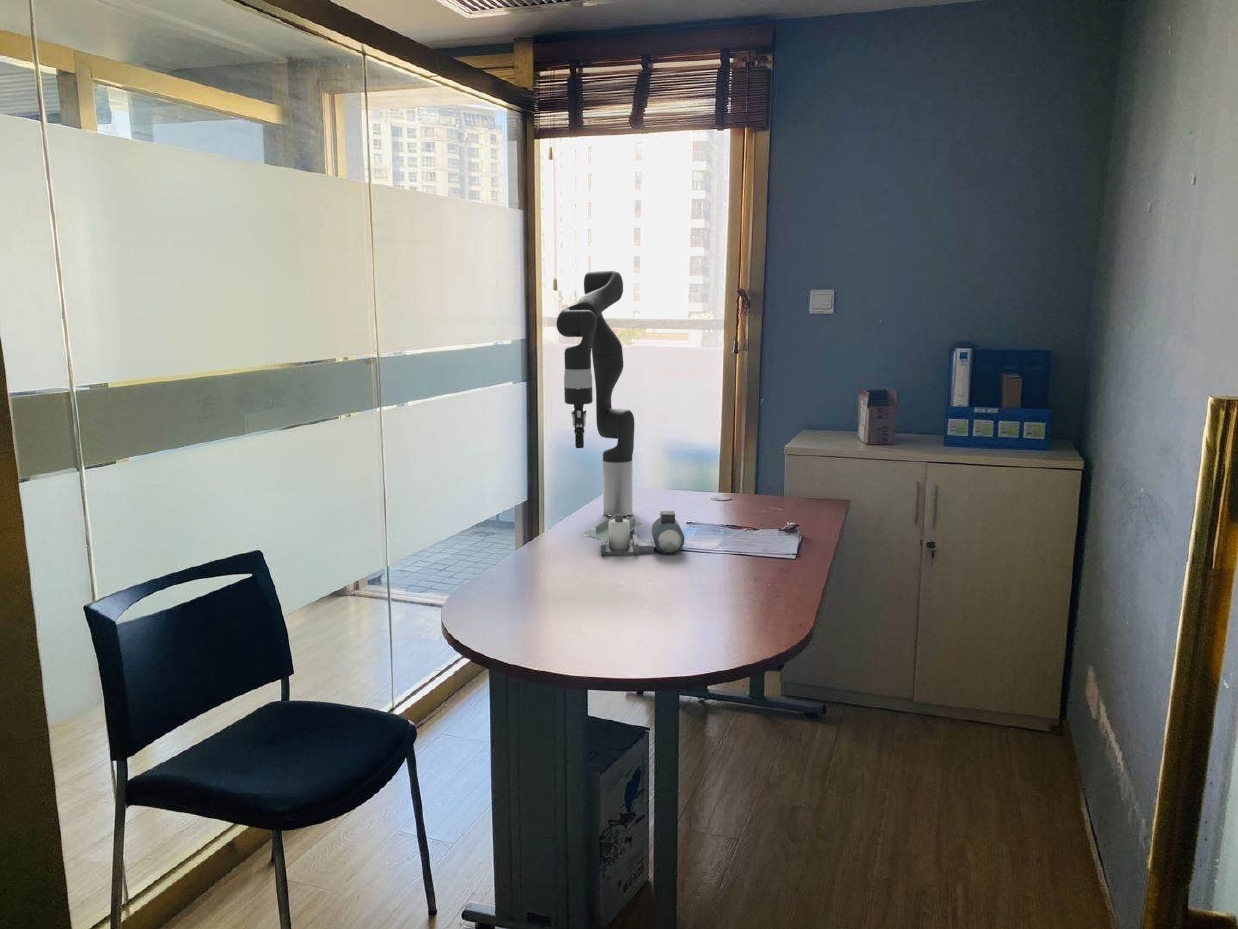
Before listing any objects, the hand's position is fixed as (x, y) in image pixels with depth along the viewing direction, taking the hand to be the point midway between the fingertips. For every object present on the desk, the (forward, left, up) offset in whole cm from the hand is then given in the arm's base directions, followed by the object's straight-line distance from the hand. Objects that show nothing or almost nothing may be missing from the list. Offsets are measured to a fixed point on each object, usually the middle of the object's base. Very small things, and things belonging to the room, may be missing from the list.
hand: (579, 445), depth 241 cm
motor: (+8, +16, -28) cm, 33 cm away
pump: (+8, +10, -27) cm, 29 cm away
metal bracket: (-8, +9, -28) cm, 31 cm away
